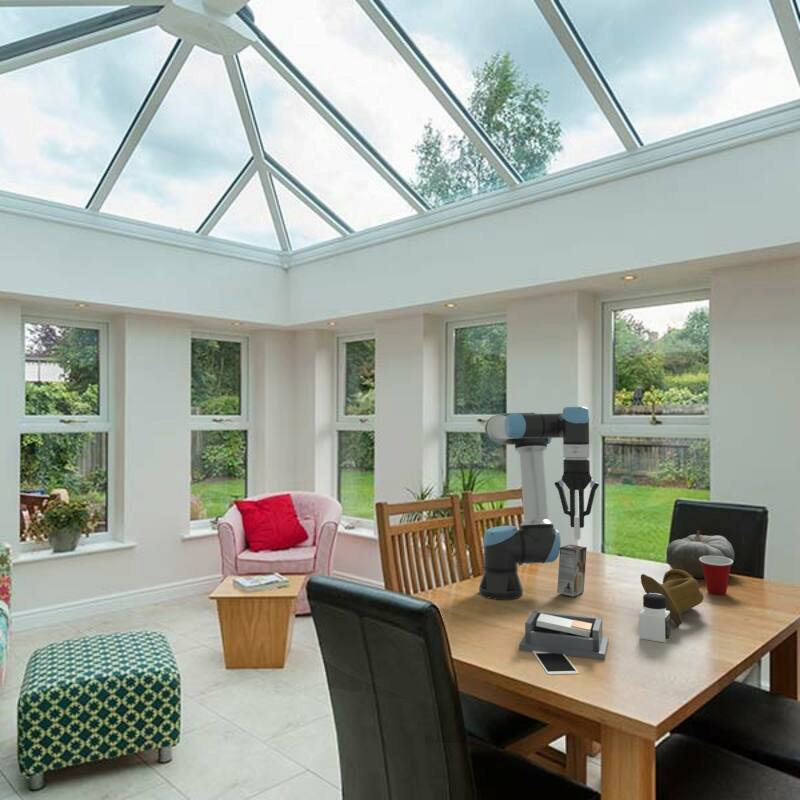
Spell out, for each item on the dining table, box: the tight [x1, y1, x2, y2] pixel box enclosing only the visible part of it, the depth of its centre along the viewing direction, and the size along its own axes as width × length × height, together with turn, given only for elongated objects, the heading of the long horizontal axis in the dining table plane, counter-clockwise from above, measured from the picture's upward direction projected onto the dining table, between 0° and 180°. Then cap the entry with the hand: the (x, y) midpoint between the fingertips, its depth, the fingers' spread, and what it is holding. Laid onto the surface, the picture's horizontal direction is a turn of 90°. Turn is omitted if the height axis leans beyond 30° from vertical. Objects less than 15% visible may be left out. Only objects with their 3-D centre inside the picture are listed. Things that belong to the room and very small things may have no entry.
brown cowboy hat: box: [640, 568, 705, 627], centre depth 208 cm, size 23×16×28 cm
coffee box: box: [556, 544, 588, 597], centre depth 235 cm, size 9×6×16 cm
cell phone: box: [532, 651, 580, 676], centre depth 170 cm, size 8×16×1 cm, turn 2°
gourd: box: [666, 530, 735, 579], centre depth 262 cm, size 25×25×17 cm
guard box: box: [518, 610, 609, 661], centre depth 182 cm, size 22×14×7 cm, turn 69°
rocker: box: [536, 613, 592, 637], centre depth 182 cm, size 14×7×2 cm, turn 69°
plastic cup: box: [699, 556, 734, 596], centre depth 234 cm, size 11×11×12 cm
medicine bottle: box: [638, 593, 672, 644], centre depth 188 cm, size 7×7×12 cm
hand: (577, 538), depth 197 cm, fingers closed
